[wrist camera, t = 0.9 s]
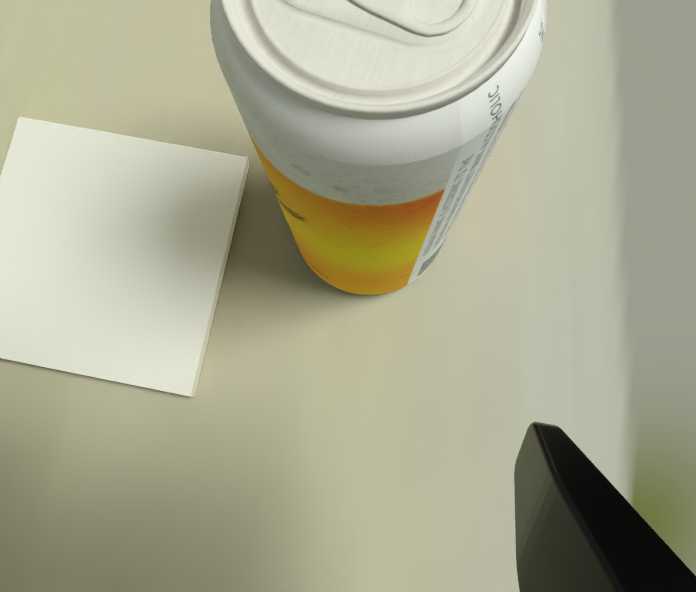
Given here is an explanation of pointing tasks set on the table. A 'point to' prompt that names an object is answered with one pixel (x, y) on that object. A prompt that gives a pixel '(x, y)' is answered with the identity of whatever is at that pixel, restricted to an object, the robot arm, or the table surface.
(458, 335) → the table surface
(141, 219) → the mat
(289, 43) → the beer can
